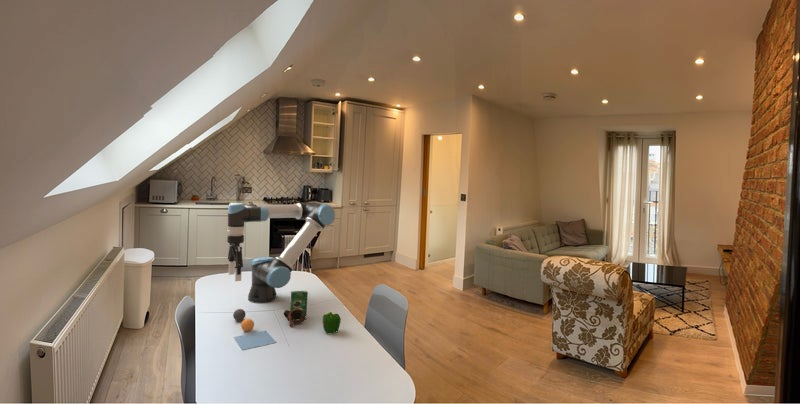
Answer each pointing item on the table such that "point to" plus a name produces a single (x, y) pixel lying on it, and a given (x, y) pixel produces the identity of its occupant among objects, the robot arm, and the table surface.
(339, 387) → the table surface
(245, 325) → the orange ball
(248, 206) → the robot arm
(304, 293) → the coffee box
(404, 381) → the table surface
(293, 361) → the table surface
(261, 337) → the blue mark
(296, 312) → the pottery mug
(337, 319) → the bell pepper
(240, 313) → the black ball
